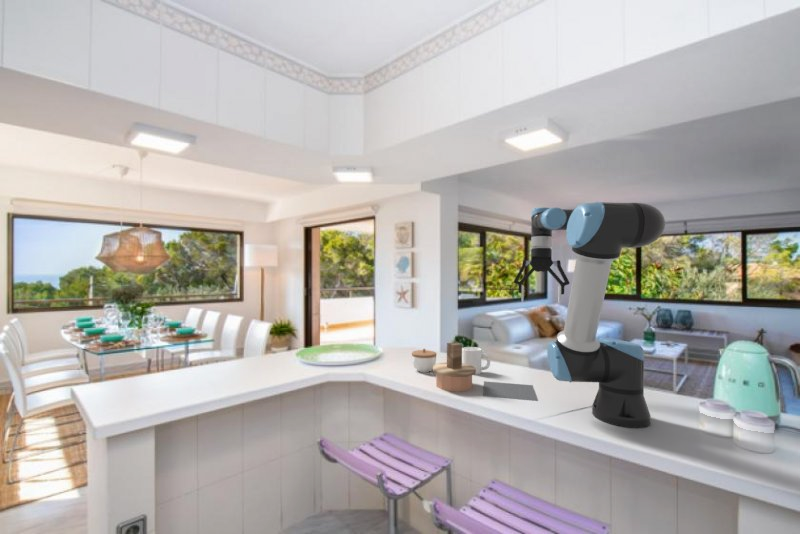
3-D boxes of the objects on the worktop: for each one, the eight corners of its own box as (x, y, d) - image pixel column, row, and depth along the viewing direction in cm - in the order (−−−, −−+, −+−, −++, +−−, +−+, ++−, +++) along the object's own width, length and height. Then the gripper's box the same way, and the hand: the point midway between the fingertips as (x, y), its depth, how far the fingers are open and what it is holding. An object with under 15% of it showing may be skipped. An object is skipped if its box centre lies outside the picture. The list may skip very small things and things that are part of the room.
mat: (532, 386, 143) (532, 385, 143) (538, 402, 125) (538, 400, 125) (483, 382, 147) (483, 381, 147) (482, 397, 130) (483, 395, 130)
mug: (490, 372, 163) (491, 348, 163) (489, 377, 155) (489, 352, 155) (463, 369, 167) (463, 346, 167) (460, 374, 159) (460, 349, 159)
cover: (484, 373, 138) (485, 345, 138) (448, 379, 130) (449, 349, 130) (458, 363, 152) (459, 338, 152) (424, 368, 144) (425, 341, 145)
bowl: (478, 389, 138) (478, 373, 138) (449, 394, 132) (449, 377, 132) (457, 380, 150) (457, 365, 150) (429, 384, 144) (430, 368, 144)
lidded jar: (406, 370, 164) (406, 348, 165) (423, 366, 172) (423, 345, 172) (424, 375, 156) (424, 352, 157) (441, 370, 164) (441, 349, 164)
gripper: (574, 248, 147) (574, 302, 147) (508, 248, 154) (507, 300, 154) (577, 247, 140) (577, 304, 139) (507, 247, 147) (507, 301, 147)
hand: (540, 302), depth 147 cm, fingers open, 13 cm apart
